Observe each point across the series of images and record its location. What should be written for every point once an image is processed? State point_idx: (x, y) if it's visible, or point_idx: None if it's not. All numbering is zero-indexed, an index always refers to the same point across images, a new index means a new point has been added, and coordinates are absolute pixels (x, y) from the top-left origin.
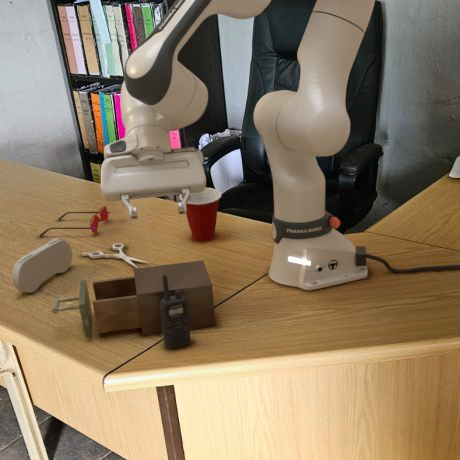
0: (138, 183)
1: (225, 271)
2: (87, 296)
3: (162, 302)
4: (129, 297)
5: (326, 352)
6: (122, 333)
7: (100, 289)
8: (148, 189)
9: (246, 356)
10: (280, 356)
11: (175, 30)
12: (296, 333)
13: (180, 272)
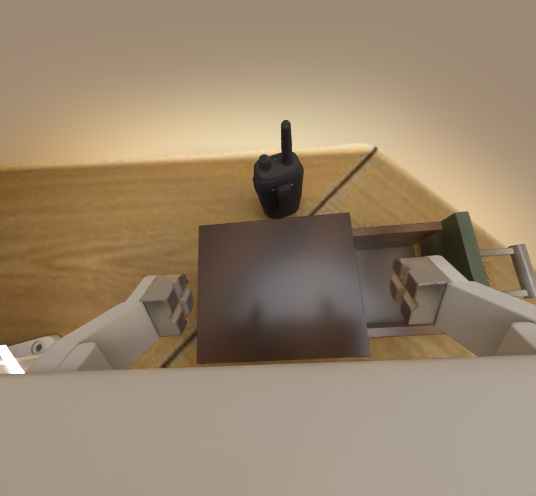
0: (508, 437)
1: None
2: None
3: (296, 156)
4: (364, 228)
5: (109, 162)
6: None
7: None
8: (352, 362)
9: (198, 166)
10: (160, 161)
11: None
12: (124, 209)
13: (255, 301)
